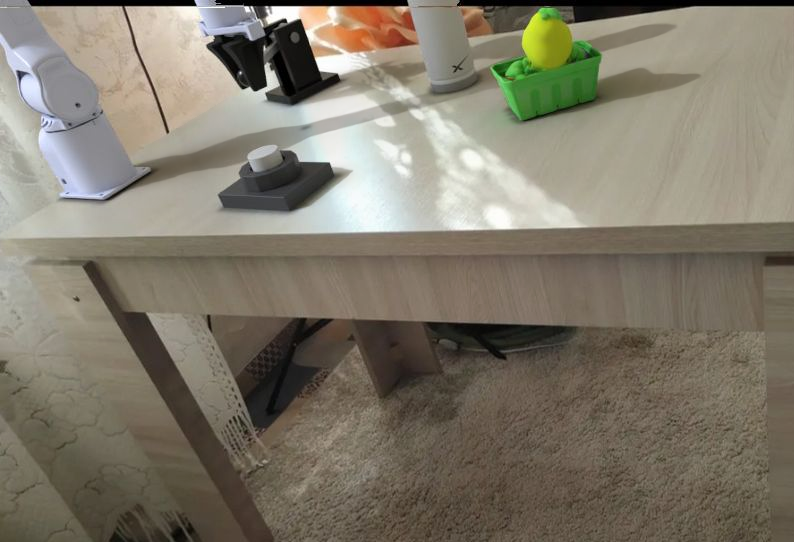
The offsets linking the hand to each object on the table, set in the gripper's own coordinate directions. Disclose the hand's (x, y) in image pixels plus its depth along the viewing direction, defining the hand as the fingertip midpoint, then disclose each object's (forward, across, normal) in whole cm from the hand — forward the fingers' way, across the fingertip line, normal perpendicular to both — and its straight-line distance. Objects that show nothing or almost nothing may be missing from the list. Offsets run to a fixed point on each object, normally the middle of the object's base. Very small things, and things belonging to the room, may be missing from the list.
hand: (254, 87), depth 110 cm
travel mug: (+4, -26, -15) cm, 30 cm away
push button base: (+3, -29, +15) cm, 33 cm away
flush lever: (-2, 0, -4) cm, 4 cm away
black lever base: (+3, 0, -7) cm, 8 cm away
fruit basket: (+4, -45, -13) cm, 47 cm away
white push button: (0, -29, +15) cm, 33 cm away
